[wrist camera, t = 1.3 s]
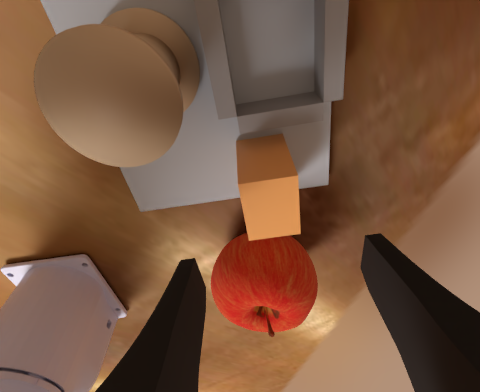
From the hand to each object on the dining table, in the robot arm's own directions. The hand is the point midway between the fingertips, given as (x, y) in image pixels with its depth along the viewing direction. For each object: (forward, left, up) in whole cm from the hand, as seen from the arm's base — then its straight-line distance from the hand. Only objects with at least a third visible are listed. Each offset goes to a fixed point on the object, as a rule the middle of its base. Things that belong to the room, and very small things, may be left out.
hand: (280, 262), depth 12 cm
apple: (-9, +1, -10) cm, 13 cm away
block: (0, 0, -9) cm, 9 cm away
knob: (+7, +5, -9) cm, 13 cm away
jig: (+4, +2, -9) cm, 11 cm away
